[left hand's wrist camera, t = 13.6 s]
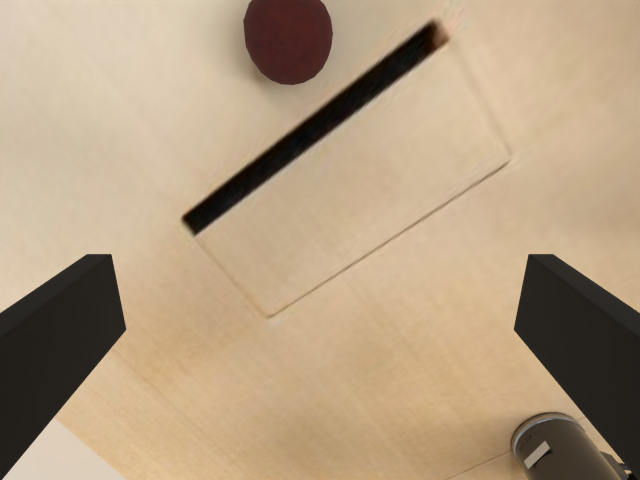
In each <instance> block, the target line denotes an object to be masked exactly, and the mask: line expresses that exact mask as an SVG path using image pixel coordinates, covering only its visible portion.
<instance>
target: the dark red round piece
mask: <svg viewBox="0 0 640 480" xmlns="http://www.w3.org/2000/svg"><path fill="white" fill-rule="evenodd" d="M244 31H245V42H246V48H247V50H248V52H249V54H250V57H251V59H252V60H253V62H254V63H255V65H256V66H257V67H258V69H259V70H260V71H261V73H263V74H264V75H265V76H267V77H268V78H269V79H270V80H272V81H275V82H277V83H280V84H287V85H294V84H299V83H304V82H306V81H308V80H309V79H311V78H313V77H315V76H316V75H317V74H318V72H319V71H320V70H321V69H322V68H323V66H324V64H325V62H326V60H327V58H328V56H329V52H330V49H331V44H332V36H333V32H332V24H331V19H330V16H329V14H328V11H327V9H326V7H325V5H324V4H323V3H322V2H321V1H320V0H252V1H251V2H250V3H249V6H248V9H247V12H246V15H245V18H244Z"/></svg>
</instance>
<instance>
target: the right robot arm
mask: <svg viewBox="0 0 640 480" xmlns="http://www.w3.org/2000/svg"><path fill="white" fill-rule="evenodd" d="M511 448H512V451H513V454H514V455H515V457H516V459H517V461H518V462H519V463H520V465H521V467H522V469H523V471H524V472H525V474H526V476H527V478H528V480H626V479H627V478H628V477H629V476H628V475H627V474H626V473H625V471H624V470H630V469H629V468H628V467H627V466H626V464H618V463H617V461H616V460H615V459H614V458H613V457H612V455H609V454H607V453H604V452H601V451H599V450H598V448H597V447H596V446H595V445H594V443H593V442H592V441H591V439H590V438H589V437H588V436H587V434H586V433H585V431H584V429H583V428H582V427H581V426H580V424H579V423H578V422H577V421H576V420H575V419H574V418H572V417H570V416H568V415H565V414H560V413H548V414H542V415H539V416H536V417H533V418H531V419H530V420H528V421H526V422H525V423H523V424H522V425H521V426H520V427H519V428H518V429H517V431H516V432H515V434H514V436H513V438H512V442H511Z"/></svg>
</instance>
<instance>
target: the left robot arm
mask: <svg viewBox="0 0 640 480" xmlns="http://www.w3.org/2000/svg"><path fill="white" fill-rule="evenodd" d="M125 331H126V326H125V321H124V316H123V311H122V306H121V301H120V296H119V290H118V285H117V280H116V275H115V270H114V265H113V260H112V255H111V254H87V255H85V256H84V257H82V258H81V259H79V260H78V261H76V262H75V263H73V264H72V265H70V266H69V267H68V268H66V269H65V270H63V271H62V272H60V273H59V274H57V275H56V276H54V277H53V278H51V279H50V280H48V281H47V282H45V283H44V284H43V285H41V286H40V287H38V288H37V289H35V290H34V291H32V292H31V293H29V294H28V295H26V296H25V297H23V298H22V299H20V300H19V301H18V302H16V303H15V304H13V305H12V306H10V307H9V308H7V309H6V310H4V311H3V312H1V313H0V480H2V479H3V478H4V476H5V475H6V474H7V473H8V472H9V471H10V469H11V468H12V467H13V466H14V464H15V463H16V462H17V461H18V460H19V458H20V457H21V456H22V455H23V454H24V452H25V451H26V450H27V449H28V448H29V446H30V445H31V444H32V443H33V442H34V440H35V439H36V438H37V437H38V435H39V434H40V433H41V432H42V431H43V430H44V428H45V427H46V426H47V425H48V423H49V422H50V421H51V420H52V419H53V417H54V416H55V415H56V414H57V413H58V411H59V410H60V409H61V408H62V407H63V405H64V404H65V403H66V402H67V401H68V399H69V398H70V397H71V396H72V395H73V393H74V392H75V391H76V390H77V388H78V387H79V386H80V385H81V384H82V382H83V381H84V380H85V379H86V378H87V376H88V375H89V374H90V373H91V372H92V370H93V369H94V368H95V367H96V366H97V364H98V363H99V362H100V361H101V360H102V358H103V357H104V356H105V355H106V353H107V352H108V351H109V350H110V349H111V347H112V346H113V345H114V344H115V343H116V341H117V340H118V339H119V338H120V337H121V335H122V334H123V333H124V332H125ZM514 331H515V332H516V333H517V334H518V335H519V337H520V338H521V339H522V340H523V341H524V343H525V344H526V345H527V346H528V347H529V349H530V350H531V351H532V352H533V353H534V355H535V356H536V357H537V358H538V360H539V361H540V362H541V363H542V364H543V366H544V367H545V368H546V369H547V370H548V372H549V373H550V374H551V375H552V376H553V378H554V379H555V380H556V381H557V382H558V384H559V385H560V386H561V387H562V388H563V390H564V391H565V392H566V393H567V395H568V396H569V397H570V398H571V399H572V401H573V402H574V403H575V404H576V405H577V407H578V408H579V409H580V410H581V411H582V413H583V414H584V415H585V416H586V417H587V419H588V420H589V421H590V422H591V423H592V425H593V426H594V427H595V428H596V430H597V431H598V432H599V433H600V434H601V436H602V437H603V438H604V439H605V440H606V442H607V443H608V444H609V445H610V446H611V448H612V449H613V450H614V451H615V452H616V454H617V455H618V456H619V457H620V458H621V460H622V461H623V462H624V463H625V464H626V466H627V467H628V468H629V469H630V471H631V472H632V473H633V474H634V475H635V477H636V478H637V479H638V480H640V313H639V312H637V311H636V310H634V309H633V308H631V307H630V306H628V305H627V304H625V303H624V302H622V301H621V300H620V299H618V298H617V297H615V296H614V295H612V294H611V293H609V292H608V291H606V290H605V289H603V288H602V287H600V286H599V285H597V284H596V283H595V282H593V281H592V280H590V279H589V278H587V277H586V276H584V275H583V274H581V273H580V272H578V271H577V270H575V269H574V268H572V267H571V266H570V265H568V264H567V263H565V262H564V261H562V260H561V259H559V258H558V257H556V256H555V255H553V254H529V255H528V260H527V265H526V270H525V275H524V280H523V285H522V290H521V296H520V301H519V306H518V311H517V316H516V321H515V326H514Z"/></svg>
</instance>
